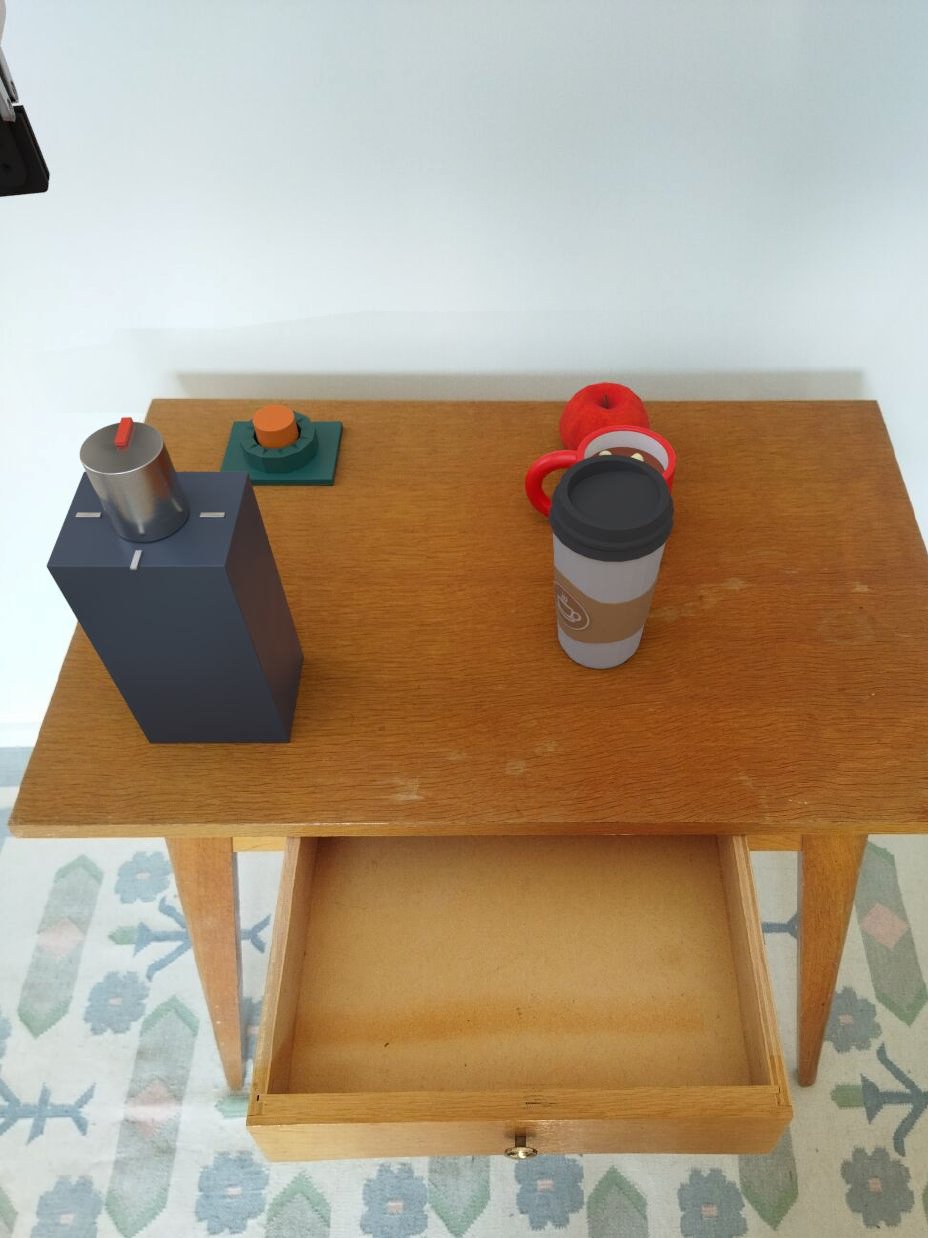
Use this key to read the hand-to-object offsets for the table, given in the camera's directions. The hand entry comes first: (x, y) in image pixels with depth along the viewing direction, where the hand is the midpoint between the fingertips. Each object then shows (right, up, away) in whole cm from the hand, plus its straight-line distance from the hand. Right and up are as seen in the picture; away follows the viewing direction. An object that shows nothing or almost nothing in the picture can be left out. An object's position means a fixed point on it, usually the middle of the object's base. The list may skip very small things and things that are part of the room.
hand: (22, 187), depth 56 cm
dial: (+8, -19, 0) cm, 21 cm away
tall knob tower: (+7, -30, +15) cm, 34 cm away
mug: (+35, -15, +25) cm, 46 cm away
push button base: (+7, -8, +30) cm, 32 cm away
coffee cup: (+35, -25, +18) cm, 47 cm away
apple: (+36, -8, +30) cm, 48 cm away
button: (+7, -6, +29) cm, 30 cm away
